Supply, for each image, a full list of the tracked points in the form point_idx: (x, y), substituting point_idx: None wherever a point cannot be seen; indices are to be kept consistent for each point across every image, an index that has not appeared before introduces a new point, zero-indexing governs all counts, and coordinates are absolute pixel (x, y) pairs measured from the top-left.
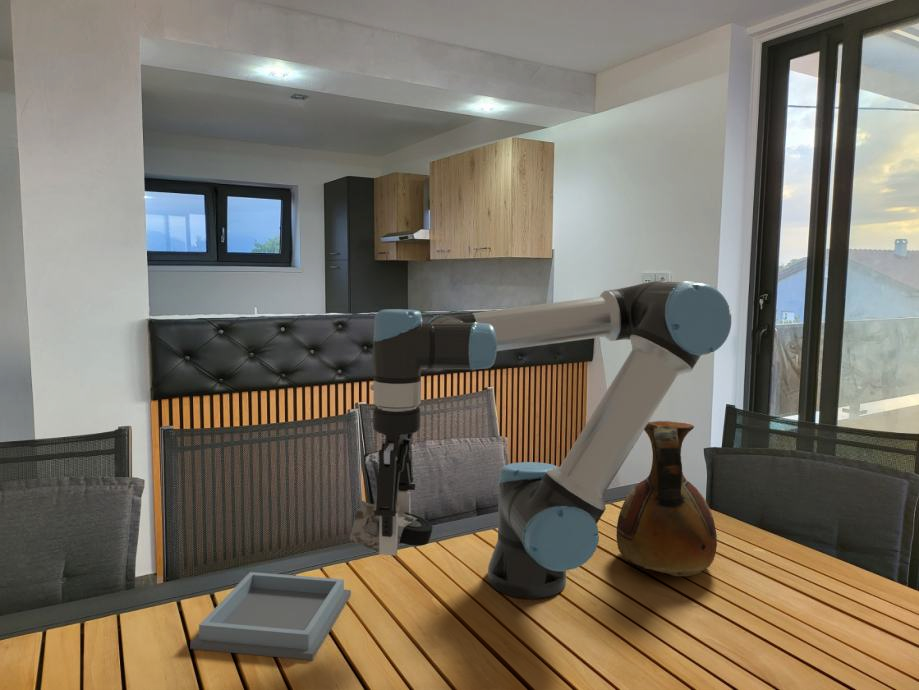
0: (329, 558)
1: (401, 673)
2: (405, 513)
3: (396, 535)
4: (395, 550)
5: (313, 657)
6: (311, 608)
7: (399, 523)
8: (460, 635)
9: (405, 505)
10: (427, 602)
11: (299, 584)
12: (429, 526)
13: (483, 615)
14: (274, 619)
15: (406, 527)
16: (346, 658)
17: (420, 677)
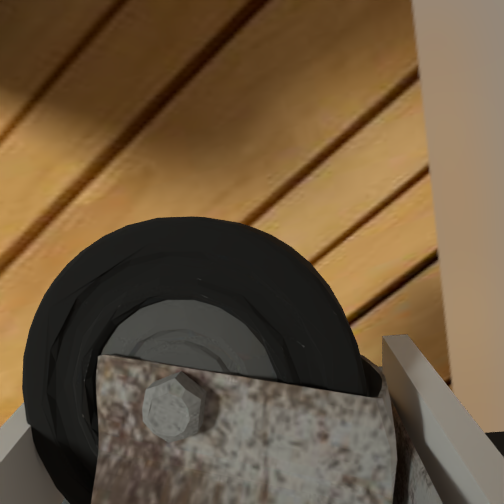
0: None
1: (400, 188)
2: (60, 447)
3: (460, 406)
4: (419, 352)
5: (379, 368)
6: None
7: (336, 447)
8: (228, 88)
9: (1, 497)
10: (106, 210)
11: None
12: (155, 243)
13: (117, 43)
14: None
15: (345, 382)
16: (366, 311)
17: (409, 143)
